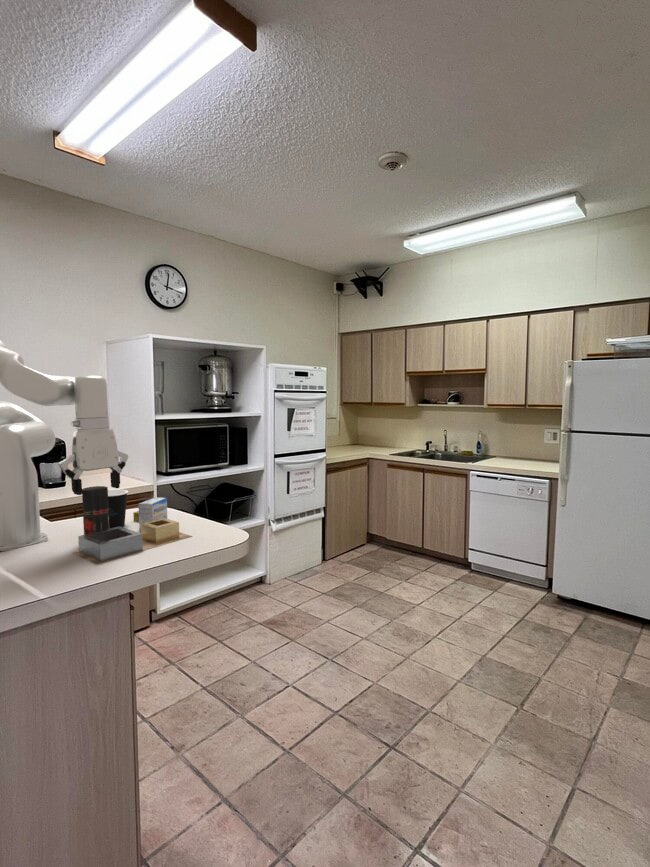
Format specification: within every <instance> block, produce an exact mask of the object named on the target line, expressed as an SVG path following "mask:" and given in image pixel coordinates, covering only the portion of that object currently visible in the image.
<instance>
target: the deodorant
mask: <svg viewBox="0 0 650 867" xmlns="http://www.w3.org/2000/svg"><path fill="white" fill-rule="evenodd" d="M108 488H109V487H108V486H103V485H102V486H101V485H97V486H88V487H82V495H81V496H82V499H81V500H82V520H83V522H82V524H83V535H86V534H90V533H94V532H98V531H103V530H107V529H109V509H108V490H109V489H108Z"/></svg>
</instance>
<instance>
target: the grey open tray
mask: <svg viewBox="0 0 650 867" xmlns="http://www.w3.org/2000/svg"><path fill="white" fill-rule="evenodd" d="M140 550H143V541H142V534H141V532H138V531H135V530H131V529H129V528H126V527H124V526H123V527H120V526H119V527H115V528H111V529H107V530H103V531H98V532H94V533H90V534H86V535H84V534H83V535H78V551H79V552H80V553H82V554H84V555H86V556H89V557H91V558H93V559H95V560H97V561H100V562H102V561H106V560H109V559H113V558H116V557H120V556H123V555H126V554H130V553H133V552H137V551H140Z"/></svg>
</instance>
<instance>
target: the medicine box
mask: <svg viewBox="0 0 650 867" xmlns="http://www.w3.org/2000/svg"><path fill="white" fill-rule="evenodd" d="M138 511H139V522H138V525H139V530H140V531H141V523H145V522H149V521H153V520H157V519H161V518H166V519H168V498H166V497H152V498H149V499H148V500H147V499H146V500H145V501H143V502H139V503H138Z"/></svg>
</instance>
